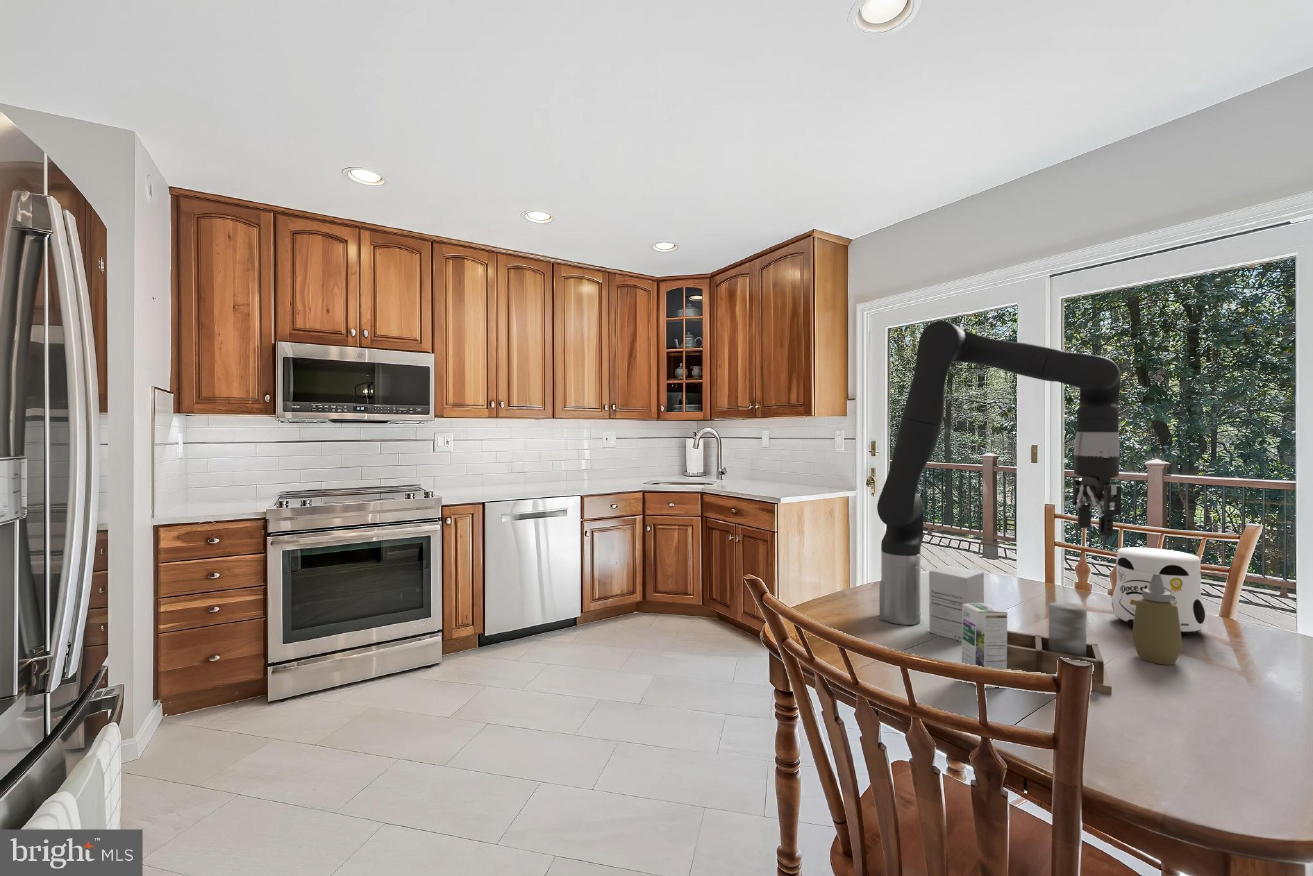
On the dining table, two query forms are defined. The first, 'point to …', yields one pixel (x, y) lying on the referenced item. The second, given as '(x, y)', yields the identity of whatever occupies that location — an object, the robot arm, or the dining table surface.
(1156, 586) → the squeeze bottle
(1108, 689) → the walnut caddy
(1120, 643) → the dining table surface
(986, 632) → the syrup box
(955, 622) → the supplement box
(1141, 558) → the milk container
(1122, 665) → the dining table surface
